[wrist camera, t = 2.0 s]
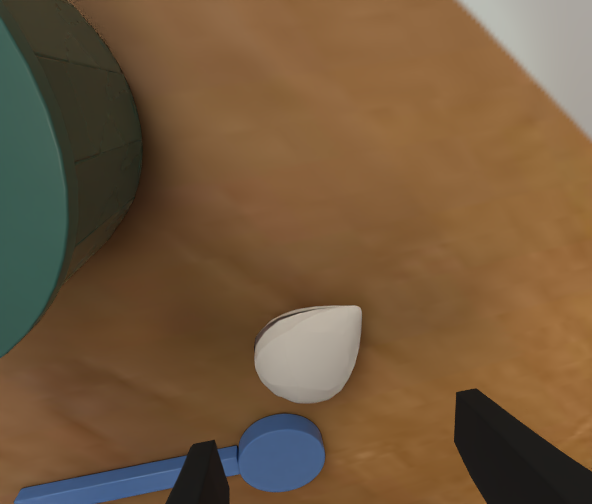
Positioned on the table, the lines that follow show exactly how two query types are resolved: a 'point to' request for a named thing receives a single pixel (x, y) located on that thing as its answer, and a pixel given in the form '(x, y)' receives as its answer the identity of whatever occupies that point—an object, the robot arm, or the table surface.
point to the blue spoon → (247, 461)
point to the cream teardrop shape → (309, 352)
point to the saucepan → (87, 116)
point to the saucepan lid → (31, 189)
